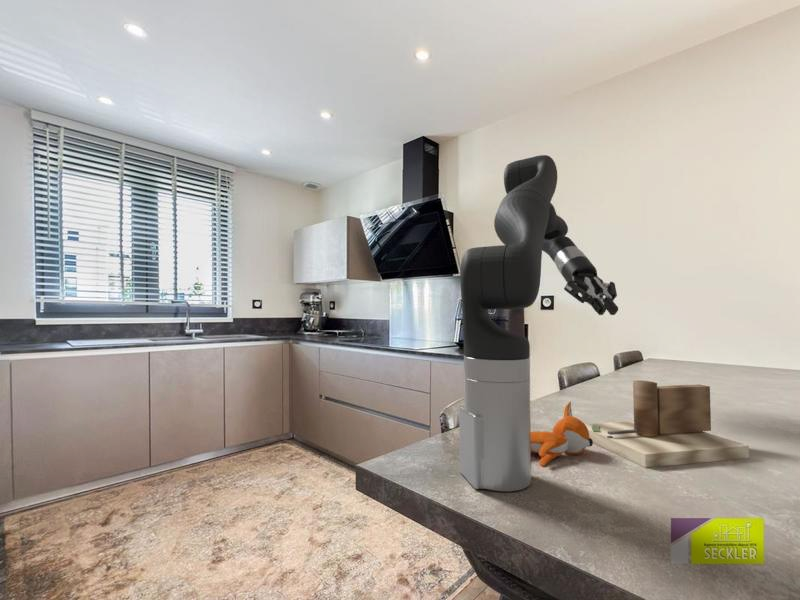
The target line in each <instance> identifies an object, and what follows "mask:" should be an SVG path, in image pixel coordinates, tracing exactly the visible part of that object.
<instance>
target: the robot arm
mask: <svg viewBox="0 0 800 600" xmlns="http://www.w3.org/2000/svg"><path fill="white" fill-rule="evenodd" d="M557 169H558V168H557V165H556V163H555V161H554V159H553V158H552V157H551V156H550V155H546V154H542V155H541V154H540V155H536V156H532V157H531V156H530V157H527V158H523V159H519V160H515V161H511V162H510V163H508V164H506V166H505V168H504V171H503V172H504V173H503V185H504V190H505V193H506V195H505V196H504V197H503V199H502V200H501V202H500V204H499V206H498V208H497V211H496V214H495V216H494V222H493V224H494V230H495V233H496V236H497V238H499V240H500V241H501V243H502V244H503V245H491V246H489V245H488V246H478V247H471V248H469V249H467V250H466V251H464V253H463V256H462V258H461V262H460V263H461V264H460V273H459V275H460V278H459V280H460V296H461V298H460V299H461V315H462V338H463V339H462V340H463V376H464V377H463V395H464V396H463V406H462V405H461V406H460V407H459V409H458V412H459V413H458V414H459V417H458V418H459V419H458V420H459V423H458V424H459V425H458V427H459V428H458V429H459V431H458V434H459V441H458V443H459V449H458V450H459V454H458V455H459V457H458V458H459V472H460V474H461V475H462V476H463V477H464V478H465V479H466V480H467V481H468V482H469V484H470V485H471V486H472V487H473V488H474V489H475V490H479V489H482V490H484V489H485V490H489V491H490V490H491V491H497V492H514V491H515V492H516V491H521V490H524V489H525V488H528V487H529V486H530V485H531V483H532V458H531V457H532V452H531V432H532V431H531V424H532V423H531V351H530V350H531V347H530V345H531V344H530V341H529V339H528V338H527V337H525V336H524V335H522V334H519V333H517V332H513V331H511V330H508V329H505V328H504V327H502V326H501V325H500V324H499V325H498V324H497V323H496V322H494V321H493V320H492V319H491V317H490V313H489V310H520V309H521V310H522V309H526V308H529V307H531V306H533V304H534V303H535V302H536V300H537V298H538V295H539V292H540V287H541V279H542V278H541V276H542V261H543V260H542V258H543V252H544V253H545V254H547V255H548V256H549V257H550V259H551V260H552V261H553V263H554V264H555V266H556V268H557V271H558V272H559V273H560V274H561V276H562V277H563V279H564V280H565V282H566V284H565V286H564V288H563V290H564V291H565V292H566V293H568V294H569V295H571V296H572V297H573V298H574V299H576V300H577V301H578V302H580V303H582V304H584V303H587V305H590V306H591V307H592V309H593V310H594V311H595V312H596V313H597V314H598V315H599V316H603V315H604V314H605V313H606V311H607V312H608V314H609V315H610V316H615V315H616V314H617V313H618V311H619V306H617V304H616V303H615V302H614V300H615V299H616V298H617V296H618V293H617V287H616V283H615V282H614V281H609V283H607V282H604V280H603V279H602V278H600V277H599V276H598V272H597V271H598V270H597V268H596V267H595V265H594V264H593V263H592V262H591V261H590V259H588V257H587V256H586V254H585V253H584V252H583V251H582V250H581V249H580V248H579V247H577V245H576V244H575V243H574V241H573V240H572V239H571V238H570V237H568V236H566V235H567V234H568V232H569V226H568V225H567V222H566V221H565V220H564V219H563V218H562V217H561V216H560V215H558V214H557V210H556V209H555V206H554V205H553V203H551V201H552V199H553V197H554V194H555V193H556V189H557V185H558V170H557ZM580 295H581V296H580Z"/></svg>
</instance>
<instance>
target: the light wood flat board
mask: <svg viewBox="0 0 800 600" xmlns="http://www.w3.org/2000/svg"><path fill="white" fill-rule="evenodd" d="M584 424H585V425H586V427H587V429H588V431H589V435H590V436H589V438H591V439H592V441H593V444H595V445H597V446H599V447H602V448H603V449H605V450H607V451H610V452H612V453H614V454H616V455H618V456H620V457H622V458H624V459H627V460H629V461H631V462H633V463H635V464H636V465H639V466H641V467H643V468H655V467H665V466H667V467H668V466H677V465H688V464H698V463H710V462H720V461H721V462H722V461H731V460H743V459H749V458H750V446H749V445H747V444H744V443H741V442H738V441H735V440H732V439H728V438H725V437H722V436H718V435H715V434H711V433H710V432H707V431H700V432H686V433H672V434H658V436H654V437H652V436H643V435H639V434H636V433H627V434H613V435H610V434H608V431H620V430H634V420H631V421H619V422H618V421H617V422H616V421H615V422H614V421H613V422H601V423H600V422H598V423H584Z"/></svg>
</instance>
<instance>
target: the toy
mask: <svg viewBox="0 0 800 600" xmlns="http://www.w3.org/2000/svg"><path fill="white" fill-rule="evenodd" d="M585 424H586V423H585V422H584V421H582V420H581V419H579V418H577V417H575V416H573V412H572V402H571V401H569V402H568V403H567V404H566V405H565V407H564V410H563V417H562V418H561V419H560V420H558V421H557V422H556V423H555V425H554V426H553V428H552V432H551V431H545V430H543V431H538V430H536V431H534V430H533V431H531V453H535V454H538V455H539V457H540V460H539V466H540V467H542V468H545V467H546V465H547V464H549V462H551V461H552V460H553V459H555V458H557V457H559V456H561V455H563V454H564V453H565V454H566V455H571V456H575V455H576V456H578V455H581V454H582V453H583V452H584V451H585V449H586V448H589V447H592V446H593V444H594V443H593V441H592V439H591V438H589V436H590V435H589V431H588V429H587V427H586V425H585Z"/></svg>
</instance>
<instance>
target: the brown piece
mask: <svg viewBox="0 0 800 600" xmlns="http://www.w3.org/2000/svg"><path fill="white" fill-rule="evenodd" d="M632 390H633V392H632V394H633V396H632V397H633V421H634V430H620V431H608V434H610V435H613V434H627V433H636V434H639V435H643V436H652V437H654V436H658V434H672V433H686V432H700V431H703V432H711V431H712V417H711V415H712V413H711V386H709V385H703V384H682V385H680V384H679V385H658V383H657V382H655V381H648V380H633V381H632Z"/></svg>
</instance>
